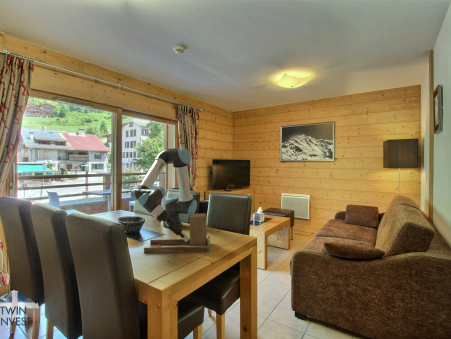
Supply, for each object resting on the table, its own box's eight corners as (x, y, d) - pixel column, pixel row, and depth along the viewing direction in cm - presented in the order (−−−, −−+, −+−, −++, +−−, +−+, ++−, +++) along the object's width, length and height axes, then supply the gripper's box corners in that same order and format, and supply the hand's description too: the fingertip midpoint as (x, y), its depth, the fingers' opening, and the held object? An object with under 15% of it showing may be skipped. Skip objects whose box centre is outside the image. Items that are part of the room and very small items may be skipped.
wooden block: (206, 249, 147) (206, 216, 146) (190, 249, 146) (189, 217, 145) (206, 243, 157) (206, 213, 156) (191, 244, 156) (190, 213, 155)
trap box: (150, 244, 156) (150, 235, 156) (210, 243, 158) (210, 233, 157) (143, 253, 141) (143, 243, 141) (209, 251, 143) (209, 241, 142)
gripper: (158, 215, 155) (184, 241, 156) (152, 220, 142) (182, 248, 143) (166, 207, 155) (192, 232, 156) (161, 211, 142) (190, 239, 143)
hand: (187, 240), depth 149 cm, fingers closed
